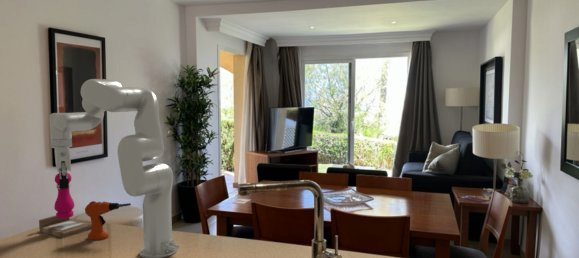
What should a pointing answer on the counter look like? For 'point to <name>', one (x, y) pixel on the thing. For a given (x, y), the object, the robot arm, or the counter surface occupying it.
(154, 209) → the robot arm
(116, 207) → the toy drill
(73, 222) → the brown picture frame
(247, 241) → the counter surface
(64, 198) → the pepper mill
